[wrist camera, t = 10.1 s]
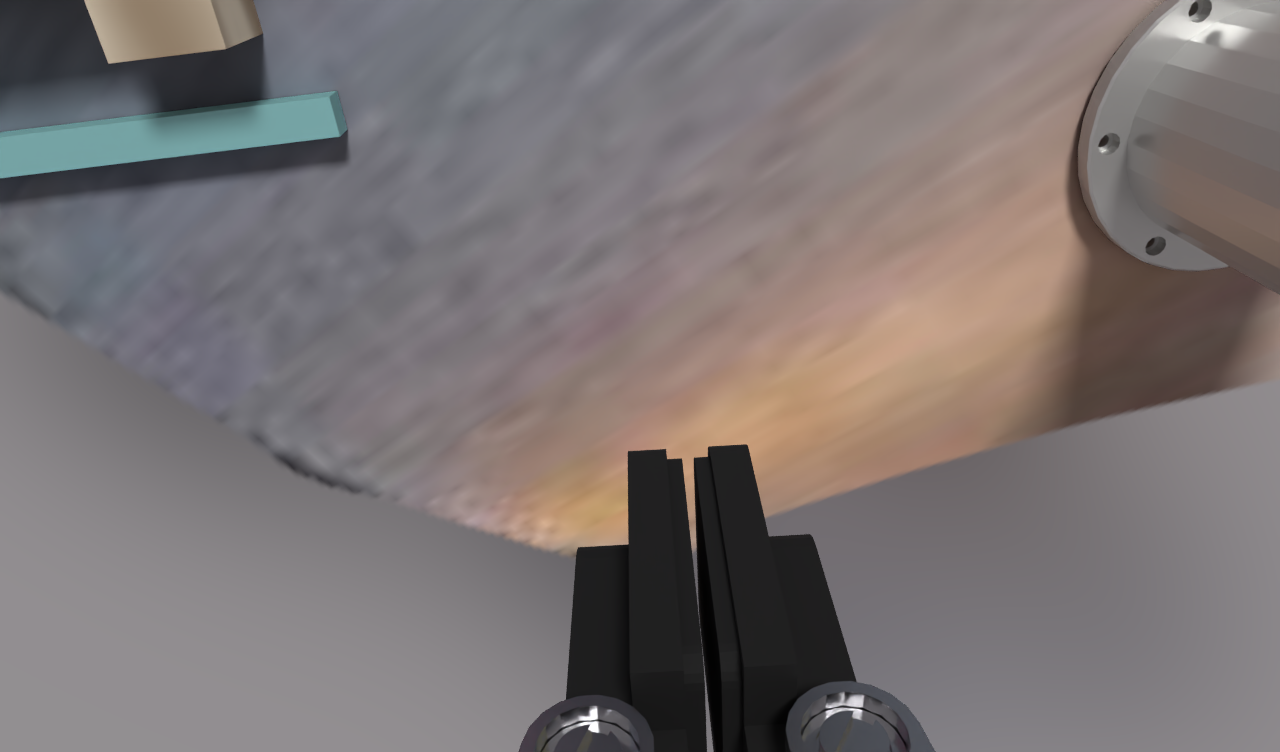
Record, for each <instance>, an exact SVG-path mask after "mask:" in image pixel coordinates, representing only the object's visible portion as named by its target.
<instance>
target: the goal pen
mask: <svg viewBox="0 0 1280 752" xmlns="http://www.w3.org/2000/svg"><path fill="white" fill-rule="evenodd" d="M346 130H347V126H346V122H345V118H344V115H343V111H342V107H341V103H340V100H339V96H338V92H337V91H332V92H324V93H316V94H307V95H299V96H291V97H283V98H275V99H267V100H259V101H251V102H242V103H234V104H226V105H218V106H210V107H202V108H194V109H185V110H177V111H169V112H161V113H153V114H145V115H137V116H128V117H120V118H112V119H104V120H96V121H88V122H80V123H72V124H63V125H55V126H47V127H39V128H31V129H23V130H15V131H6V132H0V178H7V177H15V176H23V175H31V174H39V173H48V172H56V171H64V170H72V169H80V168H88V167H96V166H105V165H113V164H121V163H129V162H137V161H145V160H154V159H162V158H170V157H178V156H186V155H194V154H202V153H211V152H219V151H227V150H235V149H243V148H251V147H260V146H268V145H276V144H284V143H292V142H300V141H308V140H317V139H325V138H333V137H340V136H341V135H342V134H343V133H344V132H345V131H346Z"/></svg>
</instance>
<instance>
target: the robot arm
mask: <svg viewBox="0 0 1280 752" xmlns="http://www.w3.org/2000/svg"><path fill="white" fill-rule="evenodd" d="M1190 7H1191V9H1190ZM1189 9H1190V11H1189ZM1102 138H1103V139H1102ZM1101 139H1102V141H1101V142H1100V140H1101ZM1099 142H1100V143H1099ZM1078 177H1079V182H1080V186H1081V191H1082V195H1083V200H1084V202H1085V204H1086V206H1087V208H1088V210H1089V212H1090V214H1091V216H1092V218H1093V220H1094V222H1095V223H1096V225H1097V226H1098V227H1099V228H1100V229H1101V230H1102V232H1103V233H1104V234H1105V235H1106V236H1107V238H1108V239H1109V240H1111V241H1112V242H1114V243H1115V244H1116V245H1118V246H1119V247H1120V248H1122V249H1123V250H1125V251H1126V252H1127V253H1129V254H1131V255H1132V256H1134V257H1136V258H1138V259H1139V260H1141V261H1143V262H1145V263H1148V264H1151V265H1155V266H1158V267H1162V268H1166V269H1169V270H1180V271H1196V272H1197V271H1205V270H1214V269H1222V268H1226V267H1232V268H1234V269H1235V270H1237V271H1239V272H1241V273H1242V274H1244V275H1246V276H1248V277H1249V278H1251V279H1253V280H1255V281H1257V282H1258V283H1260V284H1262V285H1264V286H1265V287H1267V288H1269V289H1271V290H1272V291H1274V292H1276V293H1278V294H1279V295H1280V0H1165V1H1164V2H1163V3H1161V4H1160V5H1159V6H1157V7H1156V8H1155V9H1154V10H1153V11H1152V12H1151V13H1150V14H1149V15H1148V16H1147V17H1146V18H1145V19H1144V20H1143V21H1142V22H1141V23H1140V24H1139V25H1138V26H1137V27H1136V28H1135V29H1134V30H1133V31H1132V32H1131V33H1130V35H1129V36H1128V37H1127V39H1126V40H1125V41H1124V42H1123V44H1122V45H1121V46H1120V48H1119V49H1118V50H1117V52H1116V53H1115V54H1114V56H1113V57H1112V58H1111V60H1110V61H1109V63H1108V65H1107V67H1106V69H1105V70H1104V72H1103V74H1102V76H1101V78H1100V79H1099V81H1098V83H1097V85H1096V87H1095V89H1094V91H1093V94H1092V96H1091V99H1090V102H1089V105H1088V107H1087V110H1086V113H1085V116H1084V118H1083V123H1082V129H1081V134H1080V140H1079V145H1078ZM694 483H695V512H696V541H697V567H698V568H697V569H698V599H699V615H700V624H699V615H698V605H697V596H696V587H695V578H694V568H693V558H692V549H691V539H690V530H689V520H688V511H687V502H686V492H685V483H684V473H683V464H682V459H667V455H666V449H660V450H643V451H628V529H629V545H613V546H596V547H578V549H577V555H576V566H575V581H574V595H573V609H572V622H571V636H570V637H571V638H570V650H569V664H568V679H567V692H566V700H564V701H561V702H559V703H557V704H556V705H554V706H552V707H551V708H549V709H548V710H546V711H545V712H543V713H542V714H541V715H540V716H539V717H538V718H537V719H536V720H535V721H534V722H533V723H532V725H531V726H530V727H529V729H528V731H527V733H526V735H525V737H524V739H523V741H522V743H521V746H520V749H519V752H707V741H706V710H705V682H704V666H705V675H706V683H707V694H708V702H709V712H710V722H711V731H712V740H713V749H714V752H935V751H934V748H933V747H932V745H931V743H930V742H929V739H928V737H927V736H926V734H925V732H924V730H923V728H922V727H921V725H920V723H919V722H918V720H917V719H916V718H915V716H914V715H913V714H912V712H911V711H910V710H909V708H908V707H907V706H906V705H905V704H903V703H902V702H901V701H899V700H898V699H897V698H895V697H894V696H893V695H892V694H890V693H888V692H886V691H883V690H881V689H879V688H877V687H874V686H872V685H868V684H863V683H857V682H856V678H855V675H854V672H853V668H852V665H851V662H850V658H849V655H848V652H847V648H846V645H845V642H844V638H843V635H842V631H841V628H840V625H839V621H838V619H837V615H836V612H835V608H834V605H833V602H832V598H831V595H830V591H829V588H828V585H827V582H826V578H825V575H824V572H823V568H822V565H821V562H820V558H819V555H818V551H817V548H816V545H815V542H814V540H813V537H812V536H811V535H810V534H806V535H789V536H772V537H769V536H768V532H767V527H766V522H765V518H764V514H763V509H762V505H761V501H760V496H759V492H758V488H757V483H756V479H755V475H754V470H753V466H752V462H751V457H750V453H749V449H748V445H729V446H712V447H708V457H699V458H694ZM700 628H701V634H700ZM701 637H702V643H701ZM702 647H703V655H702ZM703 656H704V666H703Z"/></svg>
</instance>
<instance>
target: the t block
mask: <svg viewBox="0 0 1280 752" xmlns="http://www.w3.org/2000/svg"><path fill="white" fill-rule="evenodd" d="M84 1H85V4H86V6H87V9H88V12H89V14H90V17H91V19H92V22H93V24H94V27H95V30H96V32H97V35H98V37H99V40H100V43H101V45H102V48H103V50H104V53H105V56H106V58H107V61H108V63H109V64H110V63H118V62H126V61H134V60H142V59H150V58H158V57H166V56H174V55H182V54H190V53H198V52H206V51H215V50H223V49H228V48H230V47H232V46H235V45H237V44H239V43H242V42H244V41H247V40H249V39H251V38H254V37H256V36H259V35H261V34H263V32H262V28H261V25H260V22H259V18H258V15H257V12H256V8H255V5H254V2H253V0H84Z"/></svg>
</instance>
